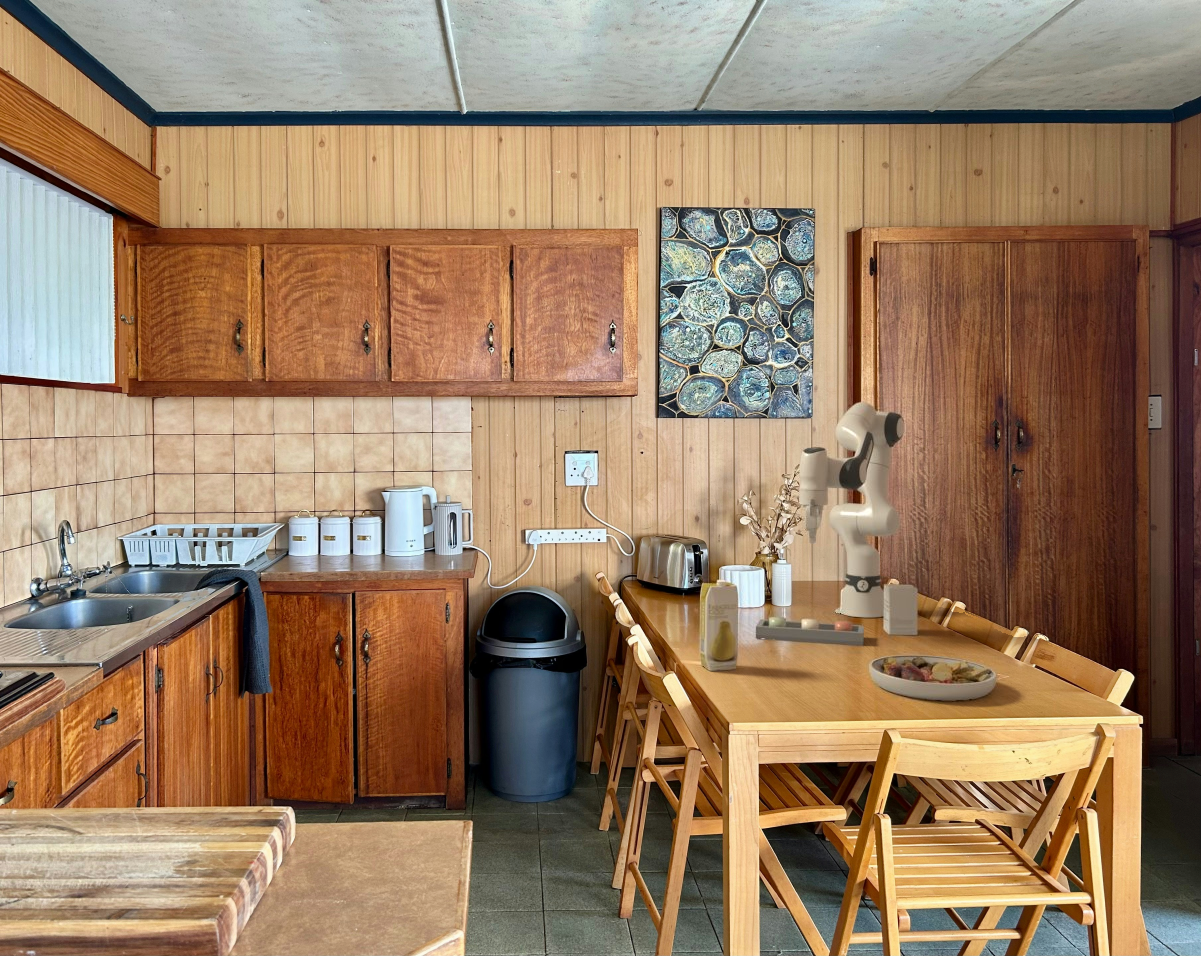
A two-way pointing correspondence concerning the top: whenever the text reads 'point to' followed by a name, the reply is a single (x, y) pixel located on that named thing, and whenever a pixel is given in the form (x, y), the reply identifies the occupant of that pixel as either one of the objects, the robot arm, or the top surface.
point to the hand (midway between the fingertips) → (812, 542)
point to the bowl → (932, 677)
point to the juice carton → (719, 625)
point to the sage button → (777, 622)
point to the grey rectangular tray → (811, 633)
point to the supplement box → (900, 609)
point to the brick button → (843, 626)
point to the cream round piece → (810, 624)
